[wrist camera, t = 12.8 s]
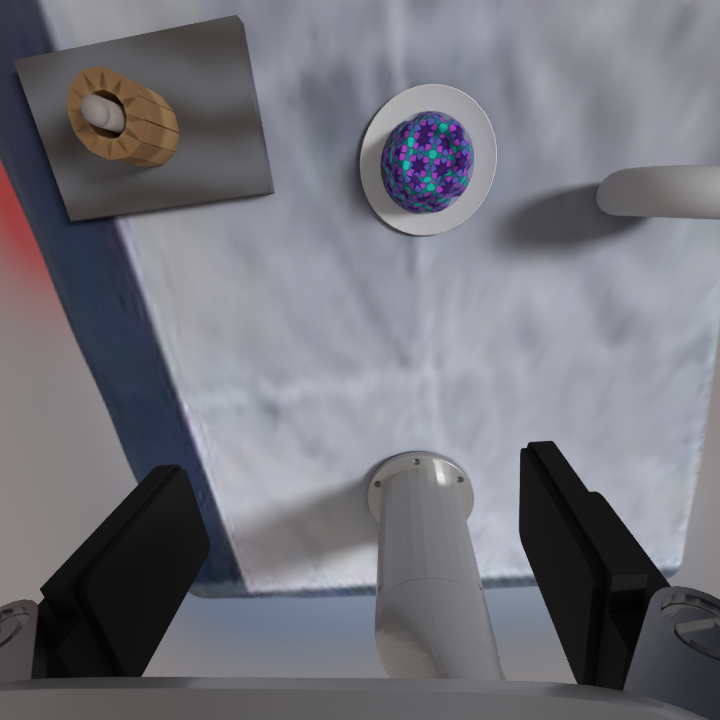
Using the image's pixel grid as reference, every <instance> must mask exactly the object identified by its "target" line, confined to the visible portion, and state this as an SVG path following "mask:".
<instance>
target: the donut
mask: <svg viewBox="0 0 720 720" xmlns="http://www.w3.org/2000/svg"><path fill="white" fill-rule="evenodd" d="M596 201H597V205H598V207H599V208H600V209H601V210H602V211H603V212H605V213H607V214H610V215H617V216H641V217H665V218H691V219H717V220H720V166H708V165H675V166H652V167H640V168H631V169H624V170H620V171H617V172H615V173H612V174H610V175H609V176H608V177H607V178H605V179H604V180H603V182H602V183H601V184H600V185H599V188H598V190H597V193H596Z"/></svg>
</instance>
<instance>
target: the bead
mask: <svg viewBox="0 0 720 720" xmlns="http://www.w3.org/2000/svg"><path fill="white" fill-rule="evenodd" d="M69 86H70V87H71V88H70V87H69V90H68V100H67V109H68V110H67V113H68V115H69V118H70V121H71V124H72V127H73V130H74V133H75V134H76V136H77V137H78V138H79V139H80V140H81V141H82V143H83V144H84V145H85V146H86V147H87V148H88V149H89V151H91V152H92V153H95V154H97V155H99V156H102V157H104V158H106V159H109V160H113V161H118V162H123V163H128V164H133V165H138V166H143V167H154V166H160V165H163V164H165V163H166V162H167V161H168V160H169V159H170V158H171V157H172V156H173V155H174V154H175V152H176V149H177V144H178V139H179V135H180V134H179V133H180V132H179V128H178V124H177V120H176V117H175V113H174V111H173V110H172V109H171V107H170V106H169V105H168V104H167V102H166V101H165V100H164V98H163V97H162V96H161V95H160V94H158V93H156V92H154V91H152V90H150V89H148V88H146V87H144V86H142V85H140V84H138V83H136V82H135V81H133V80H131V79H129V78H127V77H125V76H123V75H121V74H119V73H116V72H114V71H112V70H110V69H107V68H105V67H103V66H99V67H94V68H89V69H84V70H83V71H81V72H80V73H79V74H78V75H77V77H76V78H75V79H74V80H73V82H72V83H71V84H70V85H69ZM87 95H97V96H99V97H102V98H104V99H107V100H109V101H112V102H114V103H117V104H119V105H122V106H124V108H125V112H126V115H127V123H126V129H125V131H124V132H123V133H122V134H121V133H117V132H114V131H111V130H107V129H104V128H101V127H97V126H95V125H92V124H91V123H89V122H88V121H87V120H86V119H85V118H84V116H83V115H82V113H81V110H80V102H81V100H82V99H83V97H85V96H87ZM174 151H175V152H174Z"/></svg>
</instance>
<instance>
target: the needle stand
mask: <svg viewBox="0 0 720 720" xmlns="http://www.w3.org/2000/svg"><path fill="white" fill-rule="evenodd" d="M13 61H14V64H15V67H16V69H17V72H18V75H19V78H20V81H21V83H22V86H23V89H24V92H25V95H26V97H27V100H28V103H29V106H30V109H31V111H32V114H33V117H34V120H35V123H36V125H37V128H38V131H39V134H40V137H41V139H42V142H43V145H44V148H45V150H46V153H47V156H48V159H49V162H50V164H51V167H52V170H53V173H54V176H55V178H56V181H57V184H58V187H59V190H60V192H61V195H62V198H63V201H64V204H65V206H66V209H67V212H68V215H69V218H70V220H71V221H85V220H92V219H99V218H106V217H113V216H120V215H126V214H133V213H140V212H147V211H154V210H161V209H168V208H175V207H181V206H188V205H195V204H202V203H209V202H216V201H223V200H230V199H236V198H243V197H250V196H257V195H264V194H271V193H274V187H273V182H272V176H271V171H270V166H269V160H268V155H267V149H266V144H265V138H264V133H263V128H262V122H261V117H260V111H259V106H258V101H257V95H256V90H255V84H254V79H253V74H252V68H251V63H250V57H249V52H248V46H247V41H246V36H245V30H244V25H243V23H242V21H241V20H240V19H239V18H238V16H237V15H234V16H229V17H224V18H219V19H214V20H210V21H205V22H200V23H195V24H190V25H185V26H180V27H175V28H170V29H165V30H160V31H155V32H151V33H146V34H141V35H136V36H131V37H126V38H121V39H116V40H111V41H106V42H101V43H97V44H92V45H87V46H82V47H77V48H72V49H67V50H62V51H57V52H52V53H47V54H42V55H38V56H33V57H28V58H23V59H18V60H13ZM99 66H103V67H105V68H107V69H110V70H112V71H114V72H116V73H119V74H121V75H123V76H125V77H127V78H129V79H131V80H133V81H135V82H136V83H138V84H140V85H142V86H144V87H146V88H148V89H150V90H152V91H154V92H156V93H158V94H160V95H161V96H162V97H163V98H164V100H165V101H166V102H167V104H168V105H169V106H170V107H171V109H172V110H173V111H174V113H175V117H176V120H177V124H178V128H179V132H180V133H179V134H180V135H179V139H178V144H177V149H176V152H175V151H174V152H175V154H174V155H173V156H172V157H171V158H170V159H169V160H168V161H167V162H166V163H165V164H163V165H160V166H154V167H143V166H138V165H133V164H128V163H123V162H118V161H113V160H109V159H106V158H104V157H102V156H99V155H97V154H95V153H92V152H91V151H89V149H88V148H87V147H86V146H85V145H84V144H83V143H82V141H81V140H80V139H79V138H78V137H77V136H76V134H75V133H74V130H73V127H72V124H71V121H70V118H69V115H68V113H67V110H68V109H67V100H68V90H69V87H70V86H69V85H70V84H71V83H72V82H73V80H74V79H75V78H76V77H77V75H78V74H79V73H80V72H81V71H83V70H84V69H89V68H94V67H99ZM70 88H71V87H70ZM80 110H81V113H82V115H83V116H84V118H85V119H86V120H87V121H88V122H89V123H91V124H92V125H95V126H97V127H101V128H104V129H107V130H111V131H114V132H117V133H121V134H122V133H123V132H124V131H125V129H126V123H127V115H126V112H125V108H124V106H122V105H119V104H117V103H114V102H112V101H109V100H107V99H104V98H102V97H99V96H97V95H87V96H85V97H83V99H82V100H81V102H80Z"/></svg>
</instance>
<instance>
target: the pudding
mask: <svg viewBox="0 0 720 720" xmlns="http://www.w3.org/2000/svg"><path fill="white" fill-rule="evenodd" d="M423 111H439V112H443V113H446V114H448V115H450V116H452V117H454V118H455V119H456V120H458V121H459V122H460V123H461V124H462V125H463V127H464V128H465V129H466V131H467V132H468V134H469V136H470V138H471V141H472V144H473V148H474V154H475V164H474V171H473V175H472V178H471V181H470V183H469V185H468V187H467V184H468V181H469V179H468V174H467V170H468V169H469V168H470V166H471V165H472V164H473V156H474V154H473V151H472V147H471V145H470V143H469V142H468V141H466V140H465V139H464V130H463V128H462V127H461V125H460V124H459V123H458V122H456V121H454V120H453V119H450V120H444V119H443V118H442V117H441V116H440V115H439V114H437V113H432V112H426V113H422V114H420V115H419V116H418V118H417V119H416V120H415V121H404V122H403V123H401V124H400V125H398V124H399V123H400V122H402V121H403V120H404V119H406V118H407V117H409V116H411V115H413V114H416V113H419V112H423ZM397 125H398V126H397ZM396 126H397V127H396ZM395 127H396V129H395V130H394V128H395ZM393 130H394V132H393V133H392V144H391V145H390V146H388V147H387V148H386V149H384V152H383V155H382V151H383V148H384V145H385V143H386V140H387V139H388V137H389V135H390V134H391V132H392V131H393ZM381 156H382V168H383V169H384V170H385V172H386V173H387V176H386V180H385V187H386V189H385V187H384V184H383V181H382V177H381V168H380V165H381ZM496 163H497V146H496V140H495V134H494V132H493V129H492V126H491V123H490V121H489V119H488V117H487V116H486V114H485V112H484V111H483V109H482V108H481V107H480V106H479V105H478V103H477V102H476V101H475V100H473V99H472V98H471V97H470V96H468V95H467V94H466V93H464V92H462V91H460V90H458V89H456V88H453V87H449V86H445V85H438V84H427V85H421V86H416V87H413V88H411V89H408V90H405V91H403V92H402V93H400V94H398V95H397V96H395V97H393V98H392V99H391V100H390V101H389V102H388V103H386V104H385V105H384V106H383V107H382V108H381V110H380V111H379V112H378V113H377V115H376V116H375V117H374V119H373V121H372V122H371V124H370V126H369V128H368V130H367V132H366V135H365V138H364V140H363V144H362V149H361V154H360V174H361V181H362V185H363V189H364V192H365V194H366V197H367V199H368V201H369V203H370V205H371V206H372V207H373V209H374V210H375V212H376V213H377V214H378V215H379V216H380V217H381V218H382V219H383V220H384V221H385V222H386V223H388V224H389V225H391V226H392V227H394V228H396V229H398V230H400V231H402V232H405V233H409V234H413V235H434V234H439V233H442V232H445V231H448V230H450V229H452V228H454V227H456V226H458V225H460V224H461V223H462V222H464V221H465V220H467V219H468V218H469V217H470V216H471V215H472V214H473V213H474V212H475V211H476V210H477V209H478V207H479V206H480V205H481V203H482V202H483V200H484V199H485V197H486V195H487V193H488V191H489V189H490V187H491V184H492V181H493V178H494V175H495V169H496ZM466 187H467V189H466ZM465 189H466V191H465V192H464V193H463V191H464V190H465ZM386 190H387V191H386ZM387 192H388V193H389V194H390V195H391V197H393V198H397V199H401V202H402V205H403V207H404V208H405V209H407V210H408V211H407V210H405V209H403V208H401V207H400V206H398V205H397V204H396V203H395V202H394V201H393V200H392V199H391V197H390V196H389V194H388V193H387ZM462 193H463V195H462V196H461V197H460V198H459V199H458V200H457V201H456V202H455V203H454V204H453V205H451V206H450V207H449V208H447V209H445V210H443V209H444V208H446V207H447V206H448V204H449V202H450V200H451V198H452V197H456V196H460V195H461V194H462ZM425 208H426V209H428V210H430V211H431V212H437V211H441V210H443V211H441V212H437V213H434V214H426V215H423V214H415V213H411V212H417V213H418V212H420V211H421V210H423V209H425ZM409 211H410V212H409Z"/></svg>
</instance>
